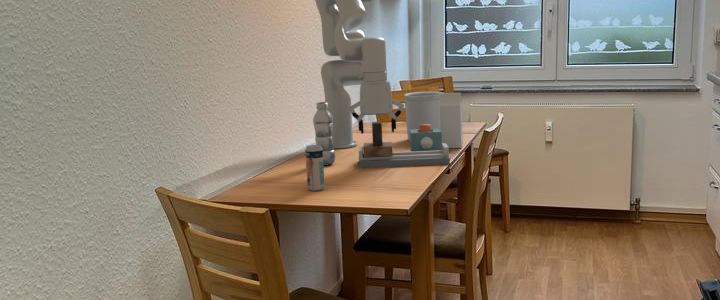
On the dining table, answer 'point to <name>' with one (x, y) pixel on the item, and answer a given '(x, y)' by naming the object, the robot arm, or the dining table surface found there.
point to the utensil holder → (422, 110)
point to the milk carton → (451, 119)
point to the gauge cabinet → (425, 140)
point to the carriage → (377, 143)
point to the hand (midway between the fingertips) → (377, 132)
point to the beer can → (315, 167)
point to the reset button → (425, 128)
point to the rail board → (406, 158)
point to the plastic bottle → (324, 132)
